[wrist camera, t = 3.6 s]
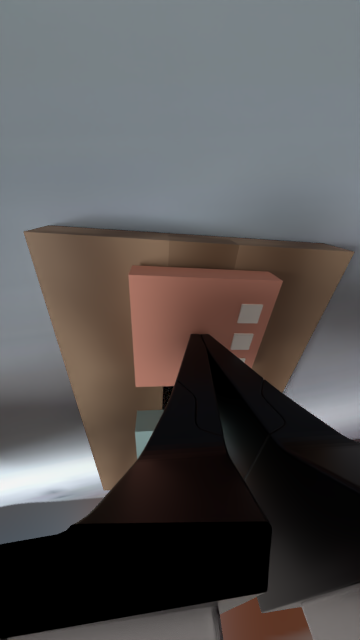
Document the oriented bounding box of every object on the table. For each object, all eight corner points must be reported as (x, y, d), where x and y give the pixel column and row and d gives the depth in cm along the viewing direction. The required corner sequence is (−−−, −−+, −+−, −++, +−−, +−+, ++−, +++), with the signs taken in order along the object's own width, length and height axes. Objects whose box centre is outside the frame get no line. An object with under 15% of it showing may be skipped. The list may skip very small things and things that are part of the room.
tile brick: (140, 349, 13) (135, 388, 10) (136, 254, 10) (128, 275, 7) (229, 349, 13) (246, 385, 11) (252, 260, 10) (284, 281, 8)
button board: (108, 467, 22) (103, 490, 20) (48, 225, 9) (23, 231, 7) (231, 459, 23) (237, 479, 21) (323, 243, 11) (354, 251, 9)
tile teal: (142, 436, 16) (138, 482, 13) (139, 385, 13) (134, 433, 10) (214, 432, 17) (225, 476, 14) (228, 383, 14) (245, 427, 11)
